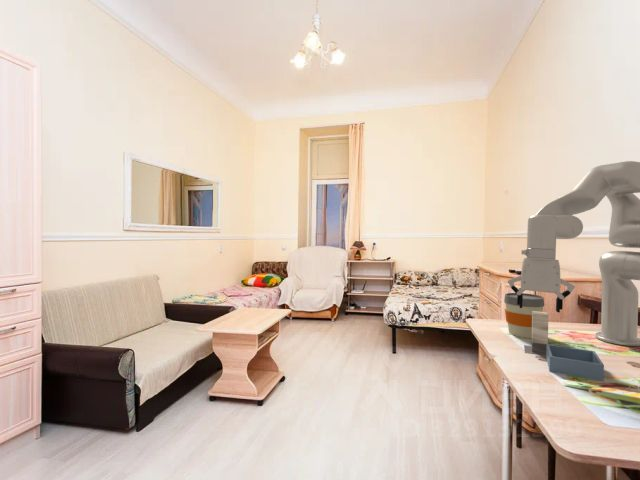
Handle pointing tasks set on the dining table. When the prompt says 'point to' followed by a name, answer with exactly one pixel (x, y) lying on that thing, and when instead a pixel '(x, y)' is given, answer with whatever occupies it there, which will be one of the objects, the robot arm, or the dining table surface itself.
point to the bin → (574, 362)
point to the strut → (539, 331)
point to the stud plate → (529, 350)
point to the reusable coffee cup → (522, 313)
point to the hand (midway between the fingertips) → (538, 309)
